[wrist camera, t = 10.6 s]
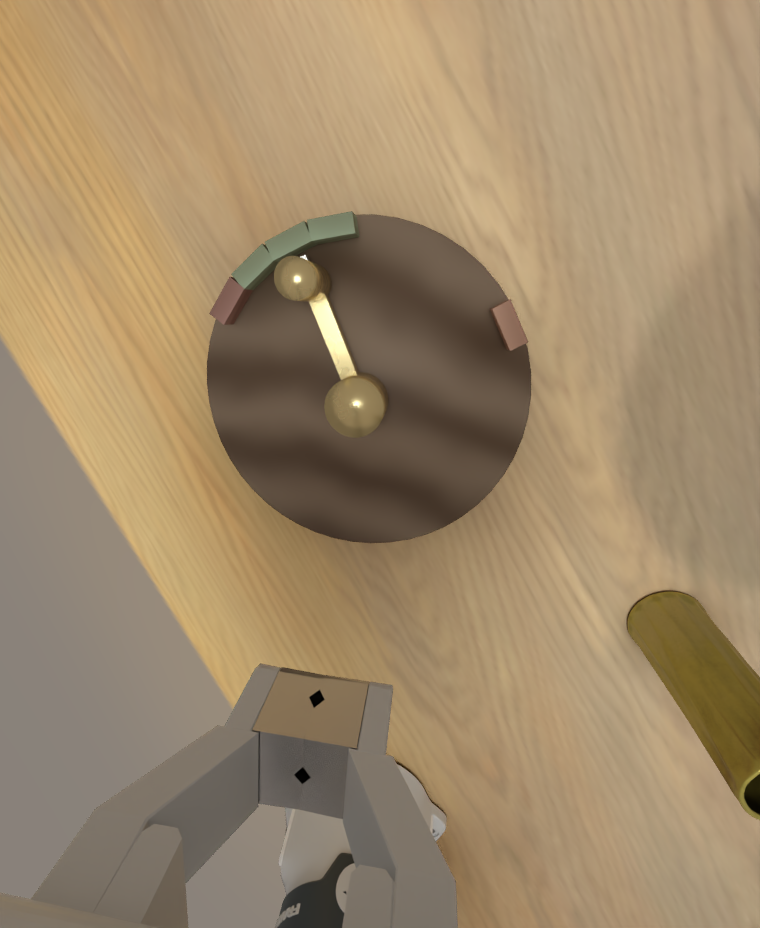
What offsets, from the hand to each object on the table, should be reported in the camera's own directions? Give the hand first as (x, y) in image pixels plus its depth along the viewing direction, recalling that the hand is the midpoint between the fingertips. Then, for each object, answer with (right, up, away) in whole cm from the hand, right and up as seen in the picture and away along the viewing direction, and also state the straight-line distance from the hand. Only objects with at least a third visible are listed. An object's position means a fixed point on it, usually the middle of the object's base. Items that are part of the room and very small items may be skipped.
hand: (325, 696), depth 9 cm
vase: (+26, -8, +27) cm, 38 cm away
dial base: (0, +11, +24) cm, 26 cm away
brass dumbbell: (-2, +13, +21) cm, 25 cm away
